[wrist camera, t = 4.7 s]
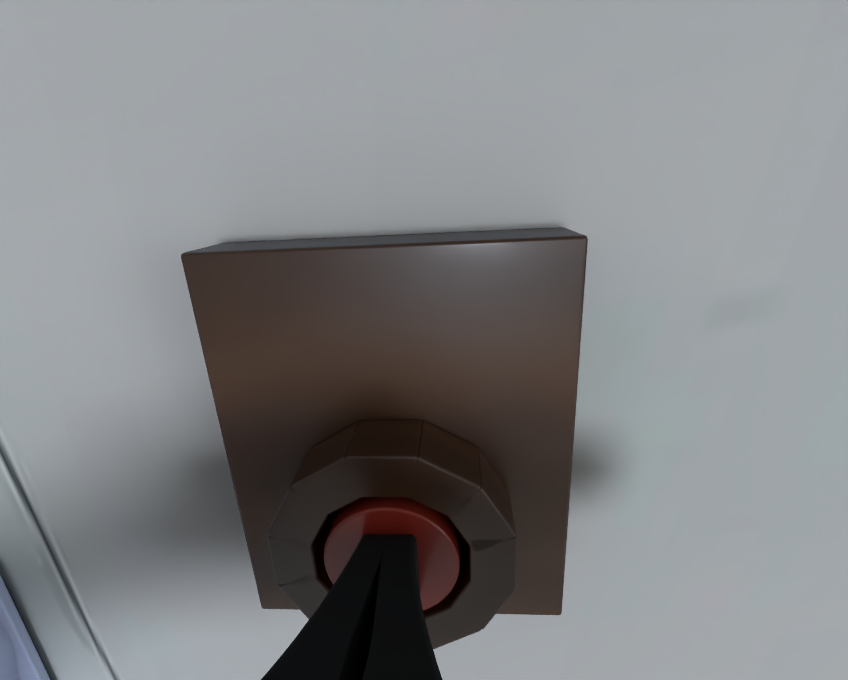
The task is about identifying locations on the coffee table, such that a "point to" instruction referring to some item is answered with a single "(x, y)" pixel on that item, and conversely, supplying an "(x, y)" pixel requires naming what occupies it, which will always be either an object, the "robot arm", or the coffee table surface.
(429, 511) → the button
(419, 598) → the robot arm
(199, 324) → the switch block
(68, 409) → the coffee table surface
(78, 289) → the coffee table surface
